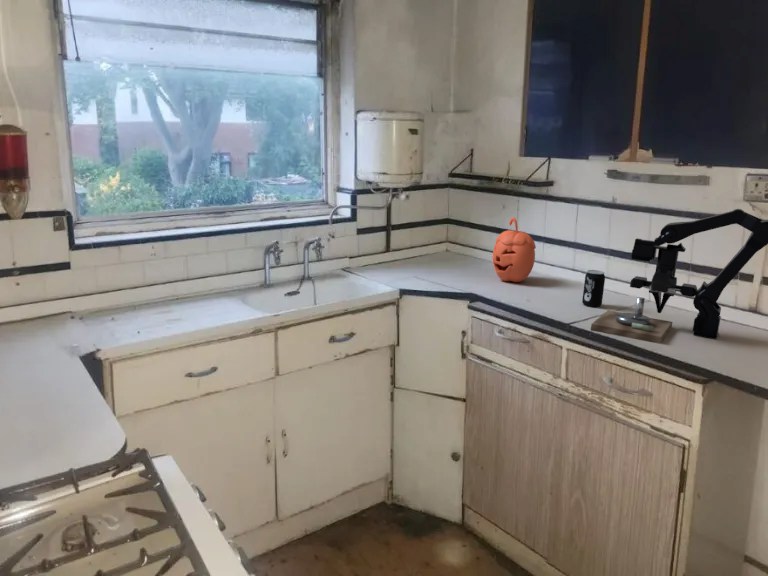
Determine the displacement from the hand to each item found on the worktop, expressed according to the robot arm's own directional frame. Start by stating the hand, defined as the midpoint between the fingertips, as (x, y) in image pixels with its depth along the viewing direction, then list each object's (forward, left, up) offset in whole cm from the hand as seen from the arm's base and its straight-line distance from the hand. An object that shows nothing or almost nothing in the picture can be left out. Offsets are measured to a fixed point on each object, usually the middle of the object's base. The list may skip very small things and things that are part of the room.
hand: (659, 312), depth 213 cm
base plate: (+6, +8, -5) cm, 11 cm away
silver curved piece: (+6, +6, -2) cm, 9 cm away
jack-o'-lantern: (+60, -30, -5) cm, 67 cm away
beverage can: (+24, -13, -5) cm, 28 cm away
